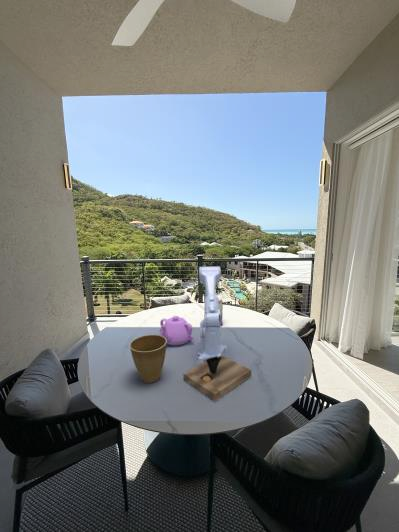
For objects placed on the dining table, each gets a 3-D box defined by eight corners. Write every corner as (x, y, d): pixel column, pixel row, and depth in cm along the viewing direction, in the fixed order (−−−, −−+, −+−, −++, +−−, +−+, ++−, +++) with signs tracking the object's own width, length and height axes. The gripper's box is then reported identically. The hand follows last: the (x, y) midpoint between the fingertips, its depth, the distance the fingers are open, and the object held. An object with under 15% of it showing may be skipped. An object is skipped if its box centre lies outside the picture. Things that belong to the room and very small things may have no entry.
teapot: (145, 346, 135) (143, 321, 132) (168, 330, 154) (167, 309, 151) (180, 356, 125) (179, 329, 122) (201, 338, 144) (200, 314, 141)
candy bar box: (204, 327, 159) (204, 301, 156) (204, 323, 164) (204, 299, 161) (222, 326, 159) (222, 301, 156) (221, 323, 164) (221, 298, 161)
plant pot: (152, 364, 118) (150, 331, 115) (175, 375, 108) (174, 340, 106) (124, 379, 106) (122, 343, 104) (147, 394, 97) (145, 355, 94)
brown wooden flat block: (183, 380, 105) (183, 373, 105) (219, 360, 120) (219, 354, 120) (214, 401, 92) (214, 394, 92) (251, 376, 107) (251, 370, 107)
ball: (205, 382, 104) (200, 384, 102) (206, 373, 105) (200, 375, 102) (212, 385, 102) (206, 387, 99) (213, 376, 102) (207, 378, 100)
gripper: (206, 351, 94) (207, 384, 96) (232, 338, 103) (232, 369, 106) (194, 344, 99) (194, 376, 101) (219, 333, 109) (219, 362, 111)
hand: (212, 372), depth 104 cm, fingers closed
